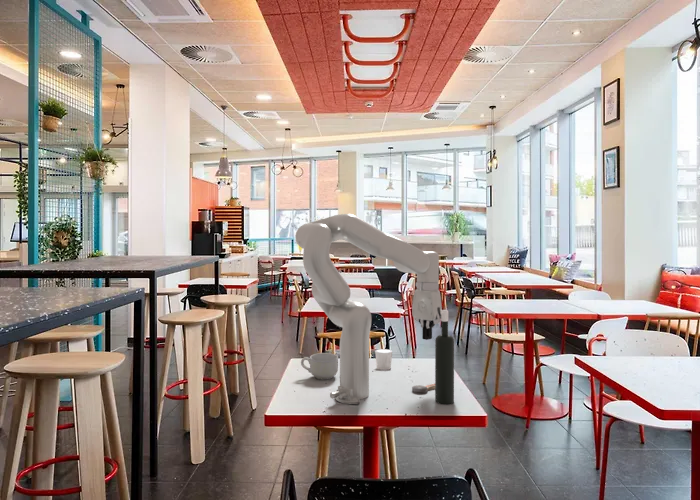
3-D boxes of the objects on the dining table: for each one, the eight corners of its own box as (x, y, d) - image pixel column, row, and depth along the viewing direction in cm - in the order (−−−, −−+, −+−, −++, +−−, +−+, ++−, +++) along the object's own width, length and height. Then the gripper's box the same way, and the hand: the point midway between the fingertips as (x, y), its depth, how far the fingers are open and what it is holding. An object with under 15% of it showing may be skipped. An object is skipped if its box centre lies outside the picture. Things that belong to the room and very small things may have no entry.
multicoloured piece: (419, 394, 165) (419, 382, 165) (409, 390, 169) (409, 378, 169) (446, 387, 173) (446, 375, 172) (436, 384, 177) (436, 372, 176)
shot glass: (392, 365, 206) (392, 348, 206) (392, 370, 199) (392, 352, 199) (375, 365, 207) (375, 348, 206) (374, 370, 200) (374, 352, 200)
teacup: (340, 374, 194) (340, 353, 194) (335, 382, 184) (335, 360, 183) (305, 372, 197) (305, 352, 196) (298, 380, 186) (297, 358, 186)
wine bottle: (454, 409, 155) (454, 311, 154) (435, 408, 156) (435, 311, 155) (453, 403, 161) (453, 308, 160) (435, 402, 162) (435, 308, 161)
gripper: (404, 285, 180) (404, 337, 181) (437, 289, 169) (436, 344, 169) (418, 284, 185) (418, 334, 185) (451, 287, 173) (451, 341, 174)
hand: (427, 338), depth 177 cm, fingers closed
